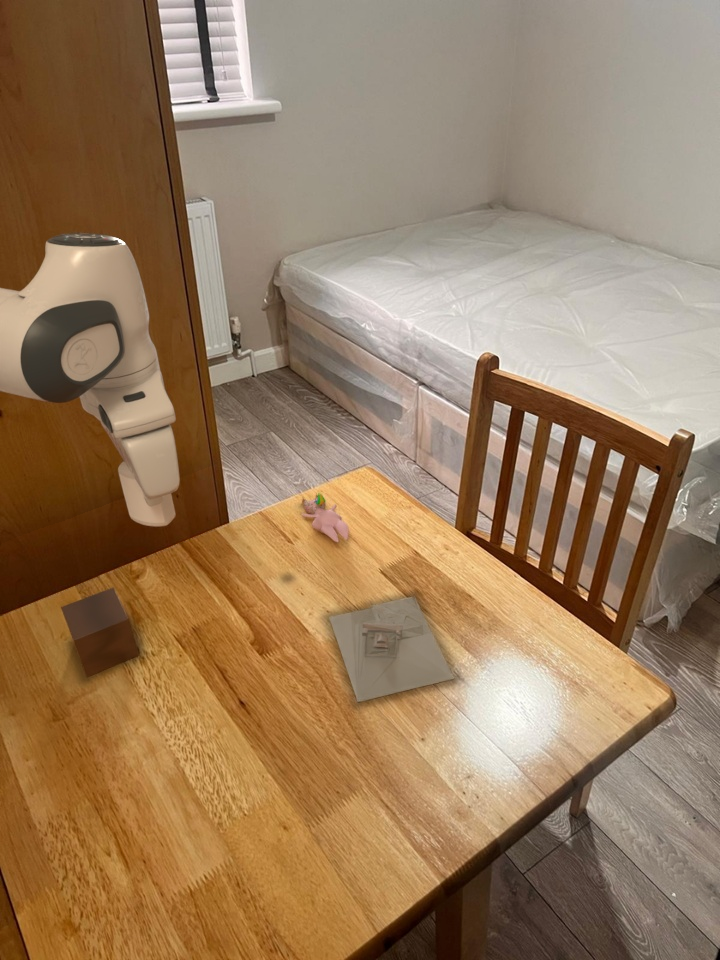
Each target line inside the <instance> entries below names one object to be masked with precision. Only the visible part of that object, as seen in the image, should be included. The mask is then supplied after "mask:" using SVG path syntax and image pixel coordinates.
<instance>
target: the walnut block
mask: <svg viewBox="0 0 720 960" xmlns="http://www.w3.org/2000/svg"><path fill="white" fill-rule="evenodd" d="M60 609H61V612H62V614H63V617H64V620H65V622H66V625H67V628H68V631H69V634H70V637H71V640H72V642H73V645H74V647H75V650H76V652H77V655H78V659H79V660H80V663H81V666H82V668H83V669H82V670H83V672H84V674H85V677H86V678H89V677H91V676H94V675H96V674H98V673H101V672H104V671H105V670H108V669H110V668H113V667H115V666H117V665H119V664H122V663H124V662H127V661H130V660H131V659H134V658H137V657H139V656H140V654H139V653H140V652H139V650H138V646H137V643H136V640H135V637H134V632H133V630H132V626H131V622H130V618H129V617H128V615H127V613H126V610H125V608H124V606H123V604H122V602H121V599H120V598H119V596H118V593H117V591H116V589H115V587H114V586H113V587H111V588H108V589H105V590H101V591H100V592H97V593H95V594H92V595H90V596H89V595H88V596H86V597H83V598H81V599H78V600H76V601H73V602H70V603H68V604H65V605H63V606H61V608H60Z"/></svg>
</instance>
